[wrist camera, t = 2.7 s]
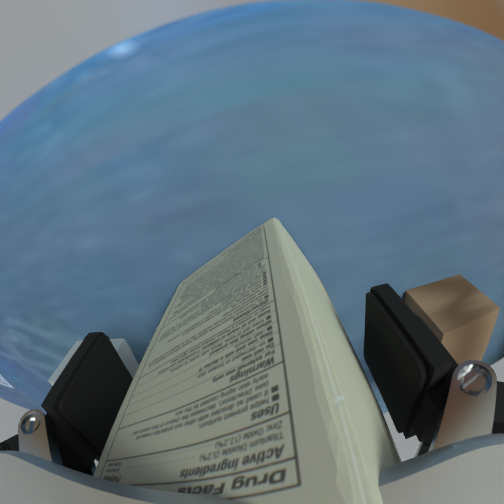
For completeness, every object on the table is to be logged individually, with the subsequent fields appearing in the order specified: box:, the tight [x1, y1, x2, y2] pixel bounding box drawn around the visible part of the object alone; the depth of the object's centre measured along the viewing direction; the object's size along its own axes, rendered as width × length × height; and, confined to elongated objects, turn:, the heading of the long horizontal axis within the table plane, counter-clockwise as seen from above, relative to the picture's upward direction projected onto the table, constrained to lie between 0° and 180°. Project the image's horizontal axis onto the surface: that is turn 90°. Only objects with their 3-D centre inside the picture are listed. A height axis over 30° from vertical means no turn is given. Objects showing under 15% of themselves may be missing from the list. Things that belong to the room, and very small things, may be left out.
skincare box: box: [93, 218, 401, 504], centre depth 8 cm, size 6×4×12 cm
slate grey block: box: [48, 338, 139, 386], centre depth 14 cm, size 4×4×4 cm
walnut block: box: [405, 274, 500, 365], centre depth 13 cm, size 4×4×4 cm
